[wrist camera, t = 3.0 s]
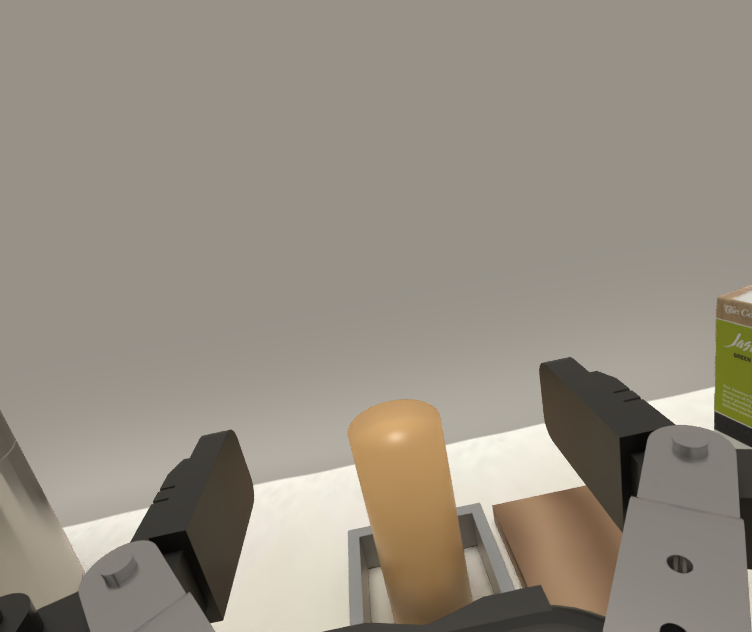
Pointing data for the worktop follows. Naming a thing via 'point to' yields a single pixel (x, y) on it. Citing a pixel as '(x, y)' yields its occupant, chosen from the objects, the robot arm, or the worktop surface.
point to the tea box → (734, 368)
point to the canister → (411, 509)
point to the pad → (562, 546)
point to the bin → (367, 557)
